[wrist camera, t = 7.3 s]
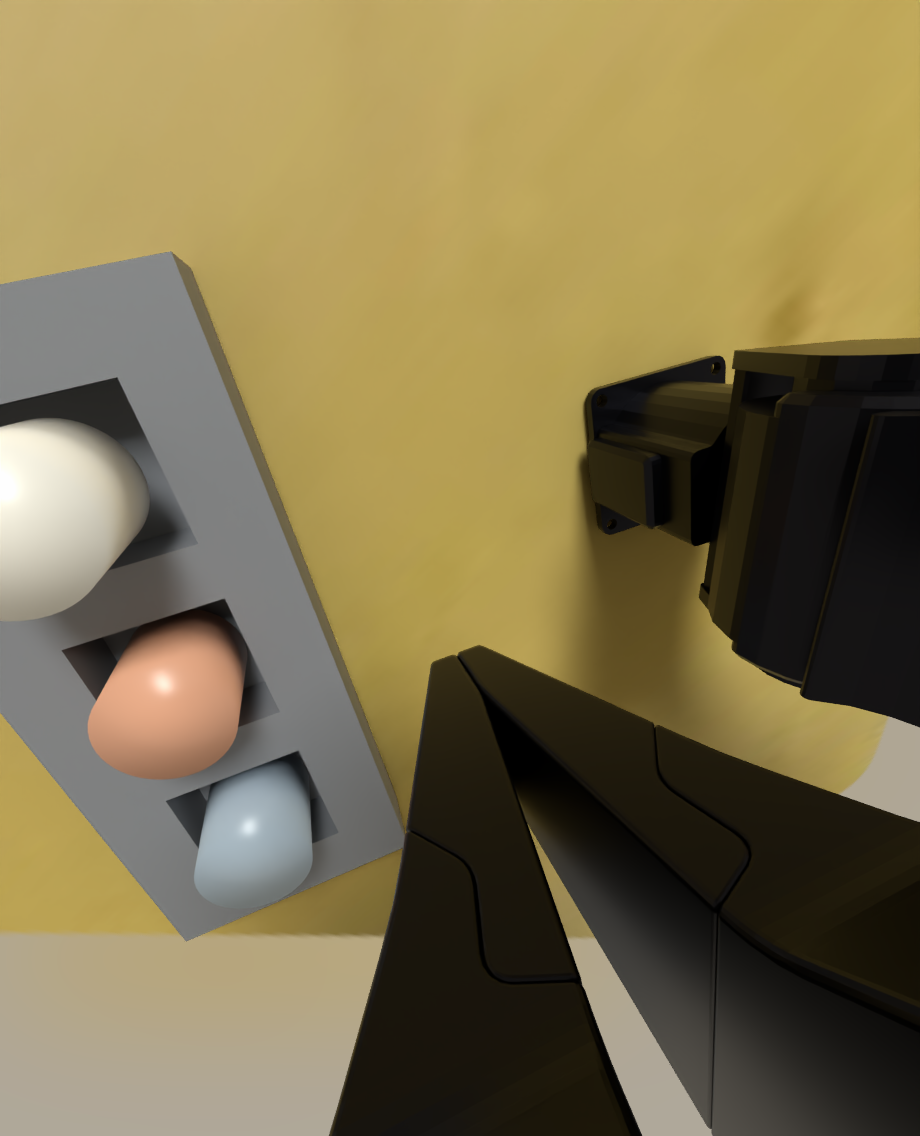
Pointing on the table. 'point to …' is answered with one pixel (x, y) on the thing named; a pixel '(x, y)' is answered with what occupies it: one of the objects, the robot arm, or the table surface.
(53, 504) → the white short cylinder
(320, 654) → the grey socket tray
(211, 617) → the peach rounded piece
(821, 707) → the table surface
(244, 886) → the slate button
